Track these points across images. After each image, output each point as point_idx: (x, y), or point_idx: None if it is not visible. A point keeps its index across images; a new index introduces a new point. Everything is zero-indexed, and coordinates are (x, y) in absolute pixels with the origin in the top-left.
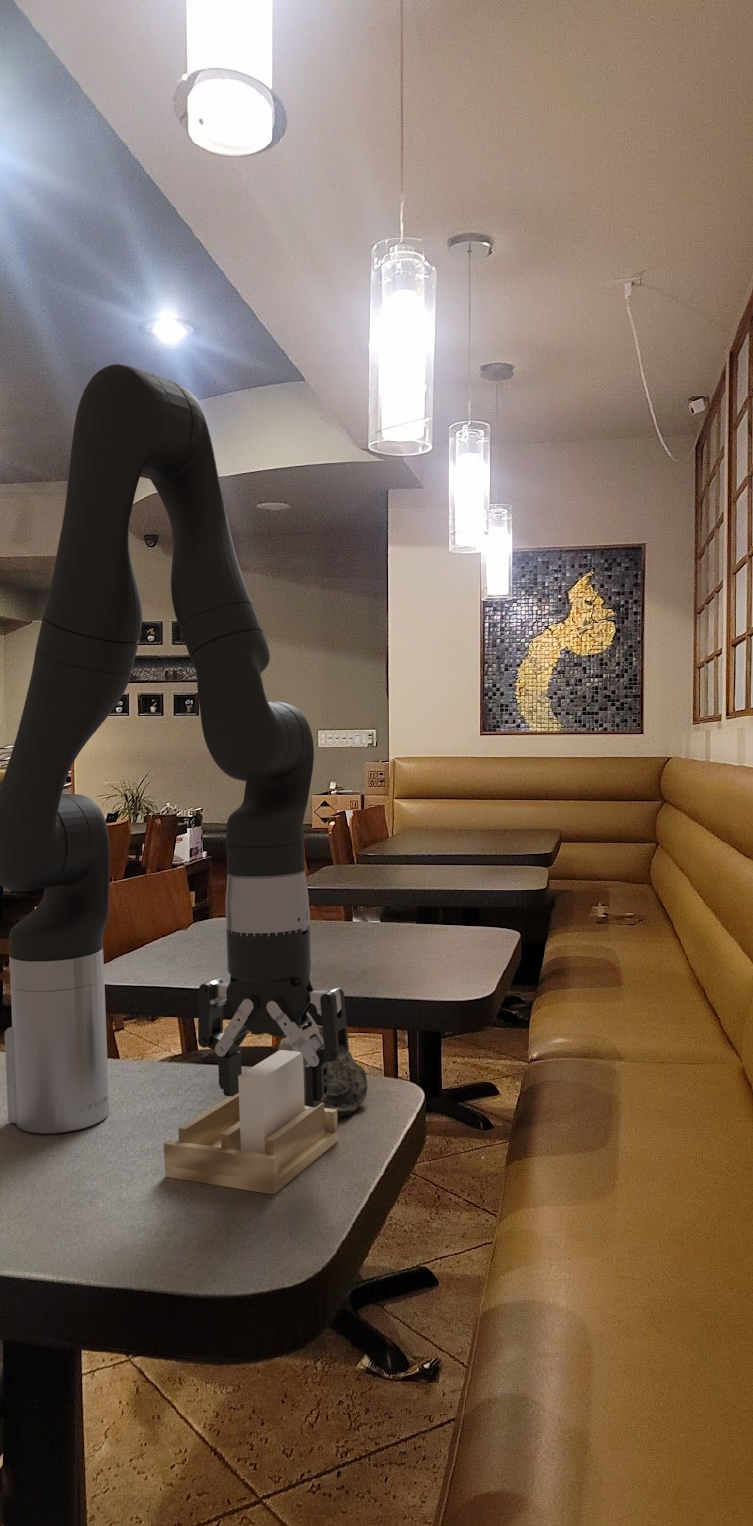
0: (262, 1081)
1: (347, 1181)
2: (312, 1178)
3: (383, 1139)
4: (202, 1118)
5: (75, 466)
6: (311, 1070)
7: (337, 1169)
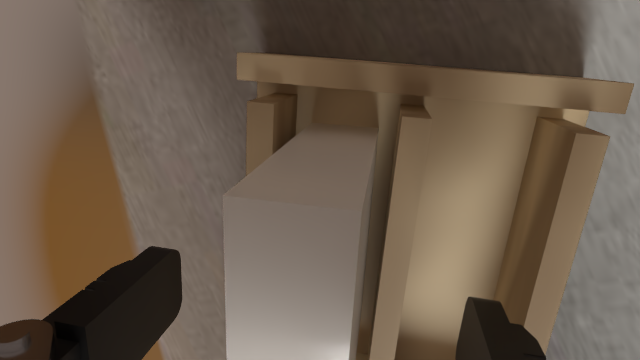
0: (229, 191)
1: (156, 156)
2: (227, 154)
3: (181, 348)
4: (550, 229)
5: None
6: (68, 313)
7: (200, 206)
